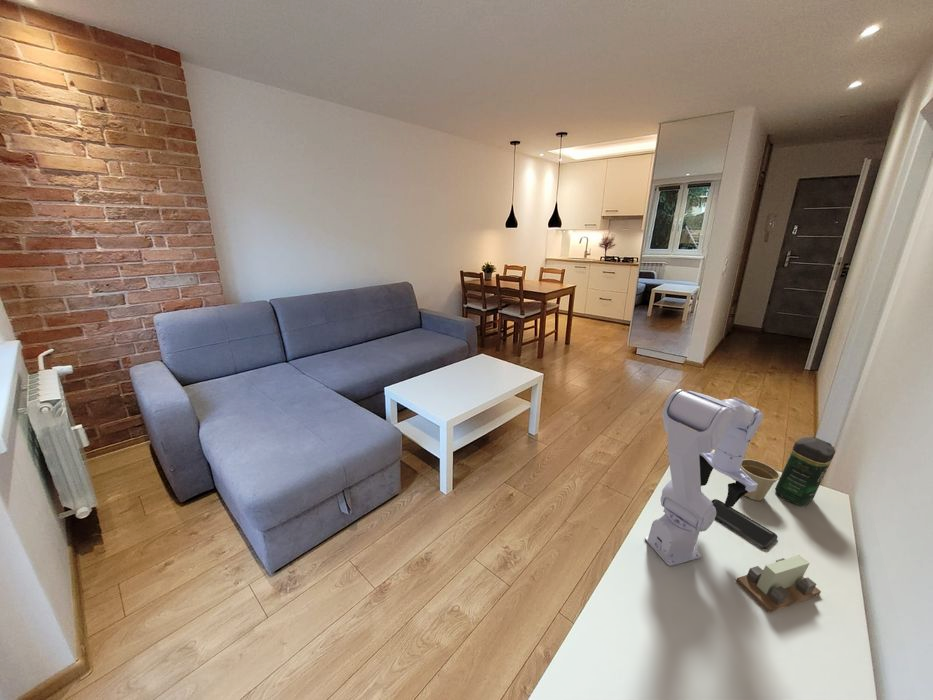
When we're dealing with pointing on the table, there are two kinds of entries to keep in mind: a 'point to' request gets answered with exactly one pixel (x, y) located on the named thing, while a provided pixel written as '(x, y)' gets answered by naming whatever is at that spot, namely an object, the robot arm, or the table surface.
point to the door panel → (782, 574)
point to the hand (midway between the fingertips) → (714, 495)
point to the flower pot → (759, 477)
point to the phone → (744, 525)
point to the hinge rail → (765, 598)
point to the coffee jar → (805, 470)
